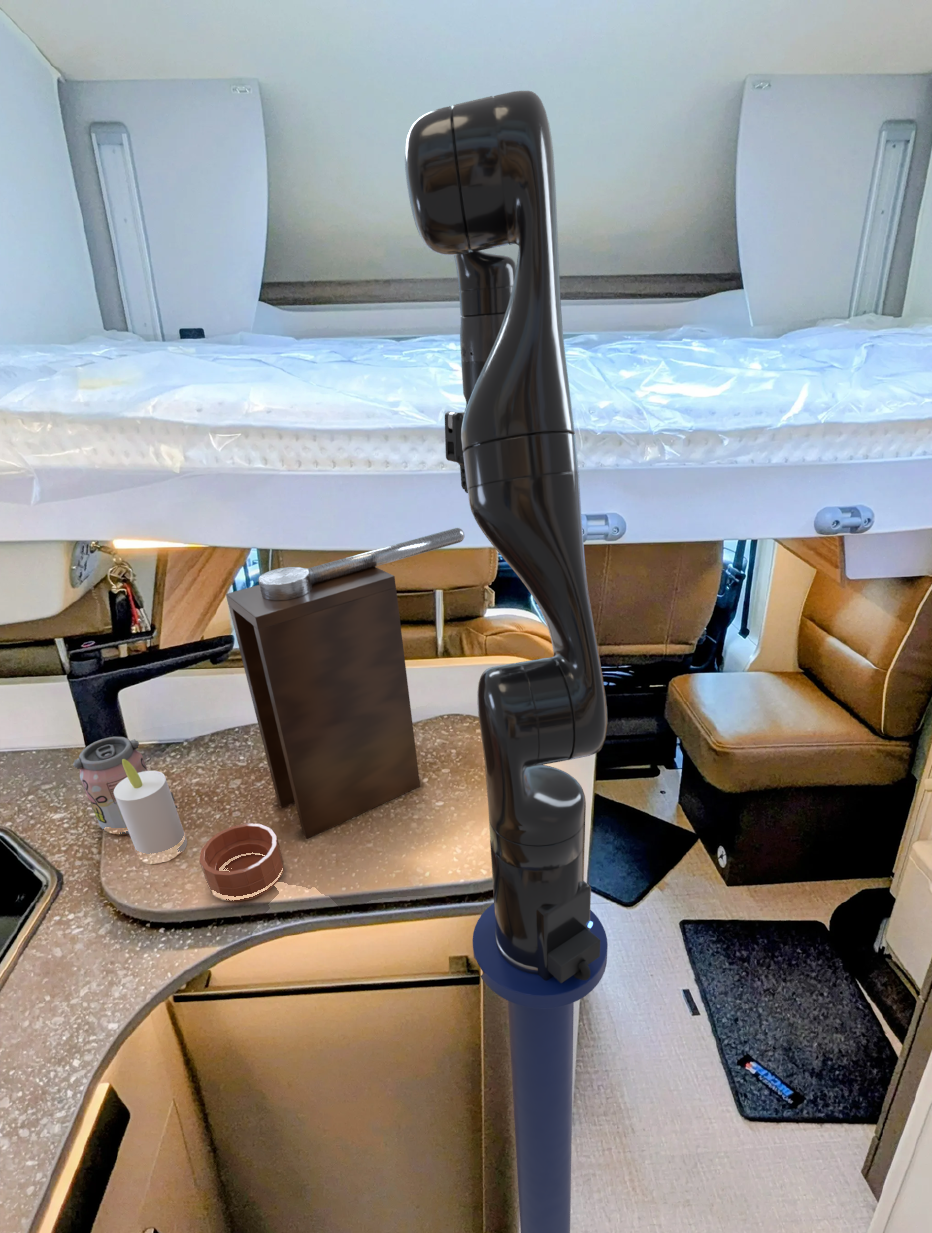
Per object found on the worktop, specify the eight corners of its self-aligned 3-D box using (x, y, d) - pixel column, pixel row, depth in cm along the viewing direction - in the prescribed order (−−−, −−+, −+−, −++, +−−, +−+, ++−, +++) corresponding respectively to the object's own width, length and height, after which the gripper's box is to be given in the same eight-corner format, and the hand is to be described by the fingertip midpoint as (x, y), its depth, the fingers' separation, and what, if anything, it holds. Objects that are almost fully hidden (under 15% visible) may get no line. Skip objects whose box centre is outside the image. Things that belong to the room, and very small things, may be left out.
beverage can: (94, 813, 103) (65, 744, 97) (153, 790, 107) (128, 723, 101) (106, 846, 96) (76, 774, 90) (169, 821, 100) (144, 750, 94)
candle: (198, 842, 95) (167, 749, 88) (155, 871, 91) (119, 776, 83) (170, 826, 99) (139, 736, 91) (128, 853, 94) (91, 761, 87)
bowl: (296, 882, 87) (288, 851, 85) (224, 917, 83) (213, 886, 80) (268, 843, 94) (260, 813, 91) (200, 874, 90) (190, 844, 87)
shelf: (386, 756, 110) (356, 557, 94) (420, 786, 102) (394, 575, 86) (277, 803, 101) (225, 593, 85) (306, 839, 94) (255, 617, 78)
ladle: (451, 536, 99) (450, 522, 98) (476, 545, 94) (475, 530, 93) (254, 591, 85) (250, 575, 84) (273, 605, 81) (269, 588, 80)
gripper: (461, 362, 82) (470, 502, 90) (554, 349, 89) (554, 480, 97) (427, 361, 88) (438, 493, 96) (516, 348, 94) (519, 473, 102)
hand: (496, 486), depth 96 cm, fingers open, 8 cm apart
